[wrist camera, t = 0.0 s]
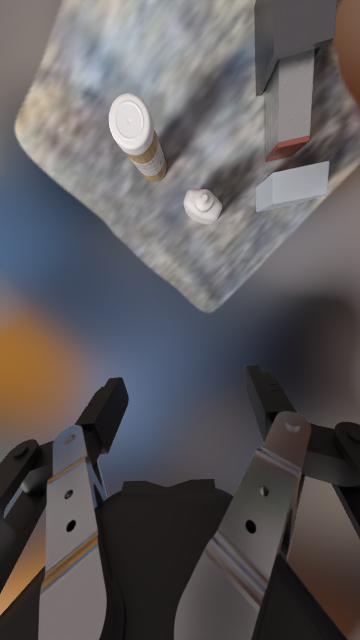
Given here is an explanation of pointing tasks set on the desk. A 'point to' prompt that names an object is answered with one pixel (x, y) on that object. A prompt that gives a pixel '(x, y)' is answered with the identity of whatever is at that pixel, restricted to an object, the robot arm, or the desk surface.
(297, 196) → the socket block
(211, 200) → the eye dropper bottle
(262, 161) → the desk surface
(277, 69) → the grey square post
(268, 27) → the sleeve
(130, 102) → the sprinkles bottle
